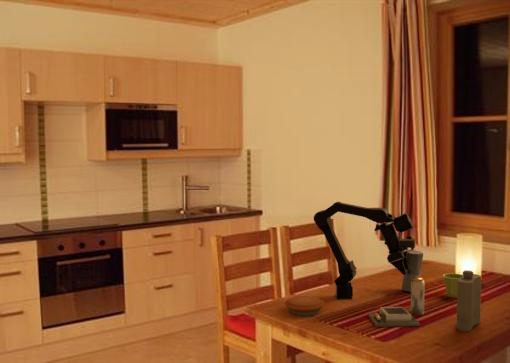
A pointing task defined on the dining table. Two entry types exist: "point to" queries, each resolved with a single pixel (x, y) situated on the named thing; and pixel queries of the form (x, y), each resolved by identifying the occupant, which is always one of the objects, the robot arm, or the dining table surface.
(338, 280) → the robot arm
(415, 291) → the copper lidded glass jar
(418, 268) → the moka pot
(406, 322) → the dock
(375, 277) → the dining table surface
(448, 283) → the plant pot
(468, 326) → the flask
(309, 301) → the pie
